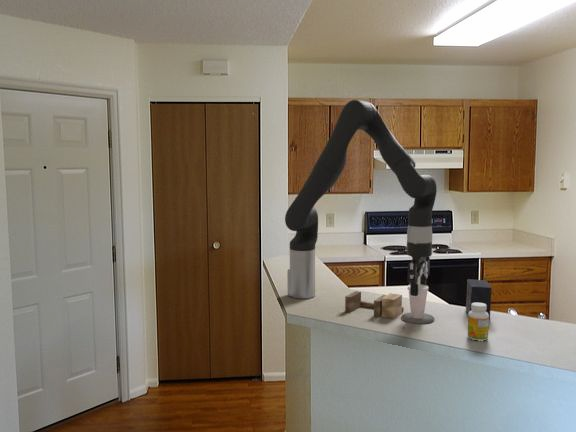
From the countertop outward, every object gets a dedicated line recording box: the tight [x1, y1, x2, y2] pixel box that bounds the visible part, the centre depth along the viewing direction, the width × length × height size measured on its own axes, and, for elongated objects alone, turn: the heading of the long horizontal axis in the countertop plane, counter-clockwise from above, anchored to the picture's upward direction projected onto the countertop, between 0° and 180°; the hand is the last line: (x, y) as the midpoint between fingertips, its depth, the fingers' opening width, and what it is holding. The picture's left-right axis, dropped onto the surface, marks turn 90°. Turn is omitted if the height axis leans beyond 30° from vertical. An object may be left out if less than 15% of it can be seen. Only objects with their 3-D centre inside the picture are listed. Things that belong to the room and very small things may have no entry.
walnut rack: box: [344, 290, 405, 319], centre depth 175 cm, size 16×9×6 cm, turn 58°
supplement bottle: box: [467, 302, 490, 341], centre depth 149 cm, size 5×5×10 cm
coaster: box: [401, 312, 435, 325], centre depth 168 cm, size 10×10×1 cm
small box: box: [465, 278, 492, 321], centre depth 171 cm, size 11×6×10 cm, turn 168°
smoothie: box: [407, 278, 429, 319], centre depth 167 cm, size 6×6×14 cm
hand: (418, 292), depth 167 cm, fingers open, 7 cm apart
